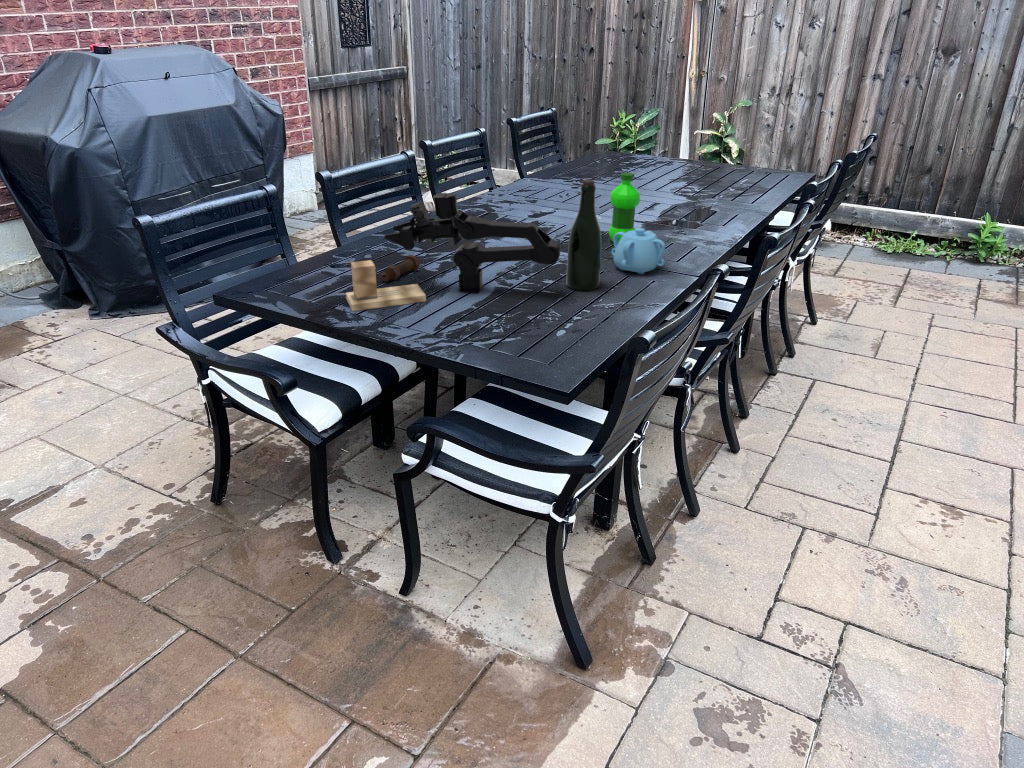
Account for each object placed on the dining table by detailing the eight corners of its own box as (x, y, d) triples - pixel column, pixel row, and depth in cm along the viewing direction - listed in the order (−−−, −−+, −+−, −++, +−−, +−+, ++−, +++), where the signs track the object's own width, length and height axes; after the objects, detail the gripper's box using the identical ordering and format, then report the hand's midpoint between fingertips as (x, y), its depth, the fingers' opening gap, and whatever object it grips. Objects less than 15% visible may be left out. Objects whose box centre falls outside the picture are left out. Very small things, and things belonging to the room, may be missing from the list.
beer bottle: (603, 290, 231) (610, 184, 215) (570, 292, 229) (575, 185, 213) (594, 279, 240) (601, 175, 224) (562, 280, 238) (567, 176, 222)
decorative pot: (608, 260, 256) (611, 221, 250) (654, 260, 257) (658, 221, 250) (616, 277, 242) (619, 236, 235) (665, 276, 243) (669, 236, 236)
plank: (417, 289, 230) (417, 283, 229) (426, 301, 222) (425, 294, 221) (346, 298, 223) (345, 292, 222) (352, 311, 214) (351, 304, 214)
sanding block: (373, 292, 222) (371, 260, 217) (377, 297, 218) (374, 265, 213) (353, 294, 220) (350, 262, 216) (357, 300, 216) (354, 267, 211)
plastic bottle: (632, 248, 268) (639, 178, 256) (604, 245, 270) (609, 176, 259) (637, 240, 276) (644, 172, 264) (610, 237, 279) (615, 170, 267)
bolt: (382, 288, 236) (412, 272, 247) (393, 283, 233) (422, 268, 244) (374, 271, 235) (404, 256, 246) (384, 266, 232) (414, 251, 243)
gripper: (441, 195, 228) (393, 198, 231) (426, 211, 212) (374, 214, 214) (446, 230, 233) (399, 233, 236) (432, 249, 217) (381, 251, 219)
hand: (389, 232), depth 226 cm, fingers open, 9 cm apart
